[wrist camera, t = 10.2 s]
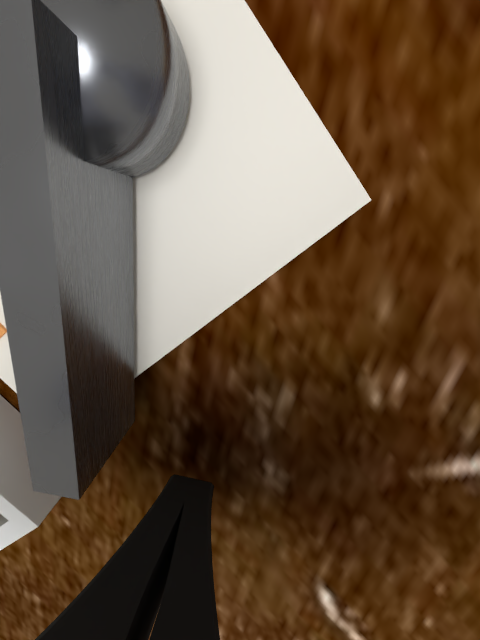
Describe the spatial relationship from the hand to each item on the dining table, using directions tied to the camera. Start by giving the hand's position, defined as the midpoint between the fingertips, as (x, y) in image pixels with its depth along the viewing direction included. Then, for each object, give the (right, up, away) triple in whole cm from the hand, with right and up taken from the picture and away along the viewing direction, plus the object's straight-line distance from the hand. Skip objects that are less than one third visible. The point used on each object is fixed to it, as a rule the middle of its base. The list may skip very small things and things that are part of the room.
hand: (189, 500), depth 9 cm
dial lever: (-2, +8, -1) cm, 8 cm away
